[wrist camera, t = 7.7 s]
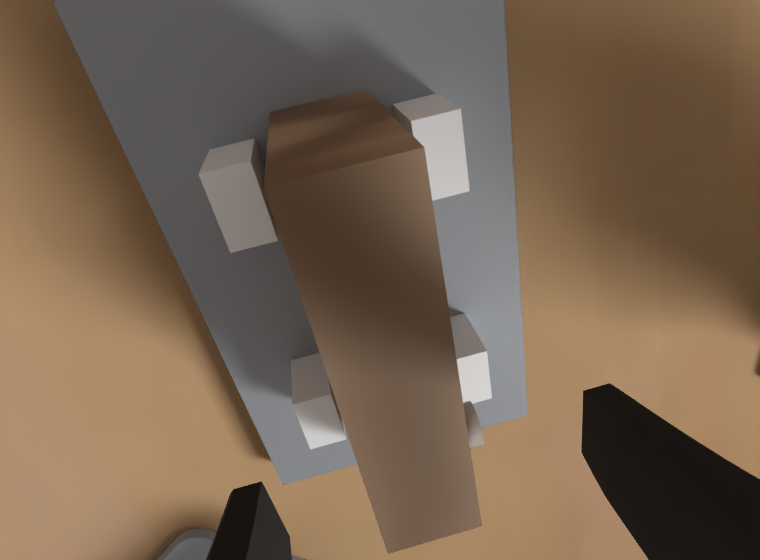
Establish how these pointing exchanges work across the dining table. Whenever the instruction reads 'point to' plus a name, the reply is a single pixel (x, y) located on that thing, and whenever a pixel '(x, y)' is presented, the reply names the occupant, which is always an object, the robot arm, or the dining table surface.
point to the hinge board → (247, 172)
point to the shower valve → (193, 546)
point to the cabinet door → (377, 307)
